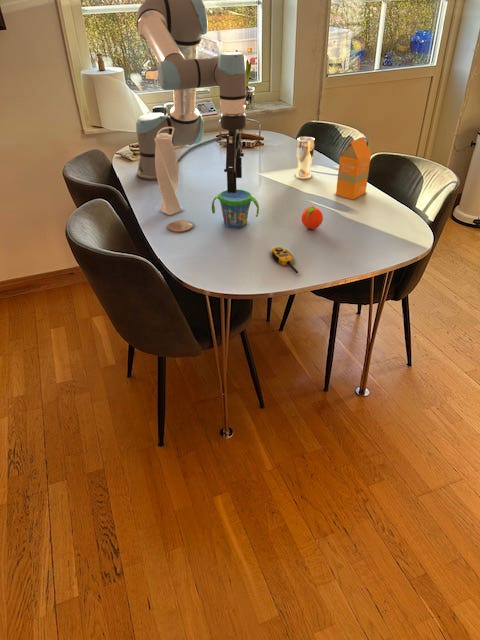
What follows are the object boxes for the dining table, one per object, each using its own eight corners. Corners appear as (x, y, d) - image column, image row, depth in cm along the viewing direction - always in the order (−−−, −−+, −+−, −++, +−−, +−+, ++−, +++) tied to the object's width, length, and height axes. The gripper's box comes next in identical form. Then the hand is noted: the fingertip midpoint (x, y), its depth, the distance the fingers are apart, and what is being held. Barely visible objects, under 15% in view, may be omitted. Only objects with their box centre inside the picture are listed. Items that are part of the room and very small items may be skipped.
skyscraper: (174, 204, 173) (166, 124, 156) (187, 210, 168) (180, 128, 152) (156, 211, 168) (146, 129, 152) (169, 217, 164) (160, 133, 147)
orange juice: (365, 193, 180) (373, 138, 168) (353, 199, 174) (360, 144, 163) (348, 188, 184) (354, 134, 172) (335, 194, 179) (341, 139, 167)
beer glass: (292, 178, 194) (295, 140, 185) (297, 172, 199) (300, 135, 190) (309, 180, 192) (312, 142, 183) (313, 174, 197) (316, 137, 188)
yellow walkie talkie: (283, 244, 142) (305, 267, 130) (283, 250, 143) (305, 273, 131) (268, 247, 141) (289, 270, 129) (268, 253, 142) (289, 276, 130)
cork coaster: (171, 221, 161) (171, 220, 161) (194, 222, 160) (194, 221, 160) (165, 231, 154) (165, 230, 154) (189, 232, 154) (189, 231, 153)
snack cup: (262, 220, 161) (262, 191, 155) (253, 233, 153) (253, 203, 147) (218, 215, 165) (217, 186, 159) (208, 227, 156) (206, 198, 150)
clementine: (315, 235, 151) (317, 214, 147) (295, 230, 154) (296, 209, 150) (325, 226, 156) (327, 205, 152) (306, 221, 159) (307, 201, 155)
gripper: (240, 124, 128) (242, 199, 140) (250, 104, 148) (250, 172, 160) (213, 123, 128) (217, 198, 141) (226, 104, 149) (228, 171, 161)
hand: (234, 184), depth 150 cm, fingers open, 13 cm apart
